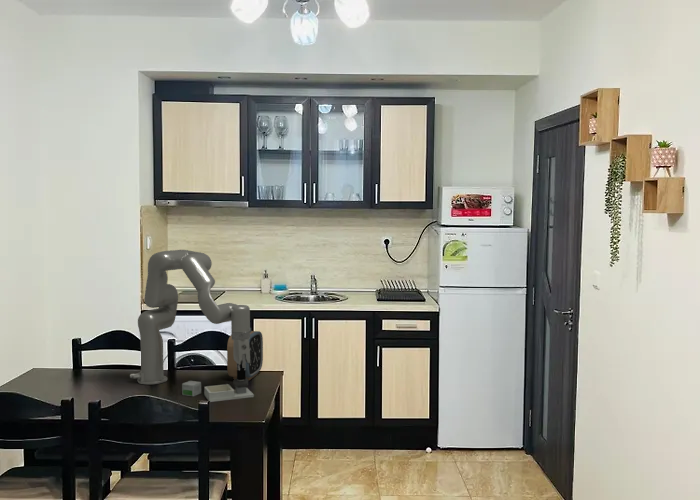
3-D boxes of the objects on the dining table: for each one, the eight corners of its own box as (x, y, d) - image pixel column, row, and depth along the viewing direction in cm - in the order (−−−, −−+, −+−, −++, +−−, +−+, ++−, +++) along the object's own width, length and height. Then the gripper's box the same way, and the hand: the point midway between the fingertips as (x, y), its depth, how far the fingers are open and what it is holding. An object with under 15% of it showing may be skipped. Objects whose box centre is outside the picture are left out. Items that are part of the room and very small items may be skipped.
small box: (181, 395, 273) (181, 383, 273) (190, 391, 279) (190, 380, 278) (193, 397, 271) (193, 385, 271) (201, 393, 276) (201, 381, 276)
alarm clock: (247, 383, 292) (247, 334, 290) (227, 382, 293) (227, 333, 292) (263, 371, 312) (263, 325, 310) (244, 370, 314) (243, 325, 312)
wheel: (235, 393, 270) (235, 382, 270) (232, 389, 276) (231, 378, 275) (249, 391, 273) (249, 380, 272) (246, 388, 278) (246, 377, 278)
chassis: (209, 401, 264) (209, 393, 264) (204, 394, 274) (204, 386, 273) (253, 396, 271) (253, 388, 271) (247, 390, 281) (247, 382, 280)
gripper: (254, 338, 267) (254, 383, 268) (245, 331, 281) (245, 374, 282) (236, 339, 264) (236, 385, 265) (227, 332, 278) (228, 376, 279)
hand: (241, 379), depth 274 cm, fingers closed
